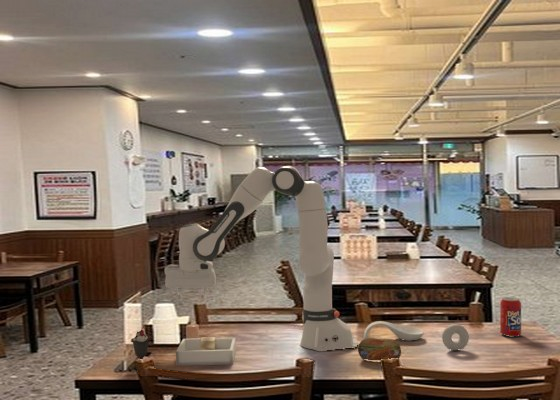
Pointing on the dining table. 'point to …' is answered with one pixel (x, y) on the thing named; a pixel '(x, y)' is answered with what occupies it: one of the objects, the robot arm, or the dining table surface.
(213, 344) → the birch cube
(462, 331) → the donut
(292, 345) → the dining table surface
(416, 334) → the spoon rest
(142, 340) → the sundae
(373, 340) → the tin
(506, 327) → the soda can
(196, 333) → the reddish brown block
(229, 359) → the bus tub
